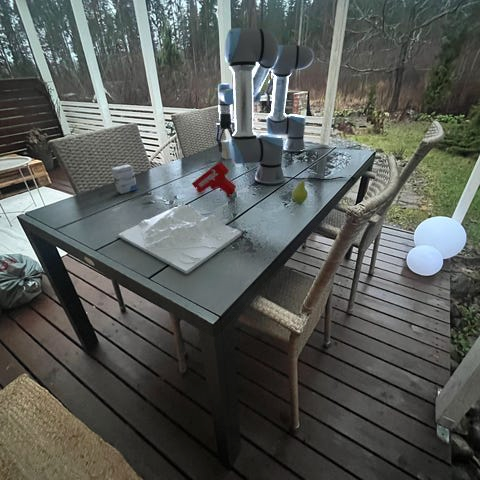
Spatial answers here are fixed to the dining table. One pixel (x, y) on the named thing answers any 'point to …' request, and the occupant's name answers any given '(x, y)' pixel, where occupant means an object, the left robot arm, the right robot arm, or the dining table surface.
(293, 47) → the right robot arm
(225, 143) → the box
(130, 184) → the ink box
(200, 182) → the toy gun
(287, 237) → the dining table surface
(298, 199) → the fruit
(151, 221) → the relief map
